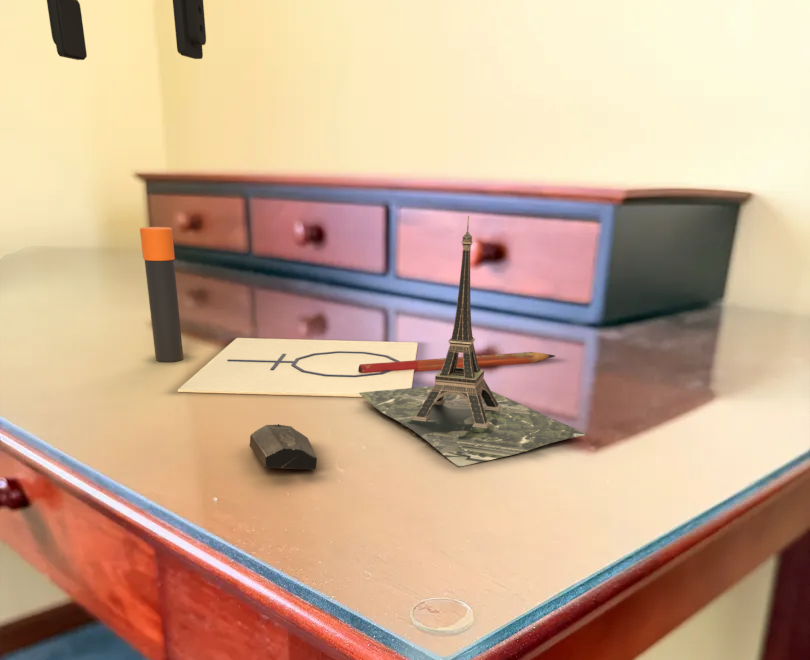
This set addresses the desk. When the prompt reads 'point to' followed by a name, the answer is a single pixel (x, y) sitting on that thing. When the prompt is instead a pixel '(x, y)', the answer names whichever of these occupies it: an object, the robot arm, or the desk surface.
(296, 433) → the block
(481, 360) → the pencil
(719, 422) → the desk surface
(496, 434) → the eiffel tower figurine
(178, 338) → the marker
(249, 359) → the paper
